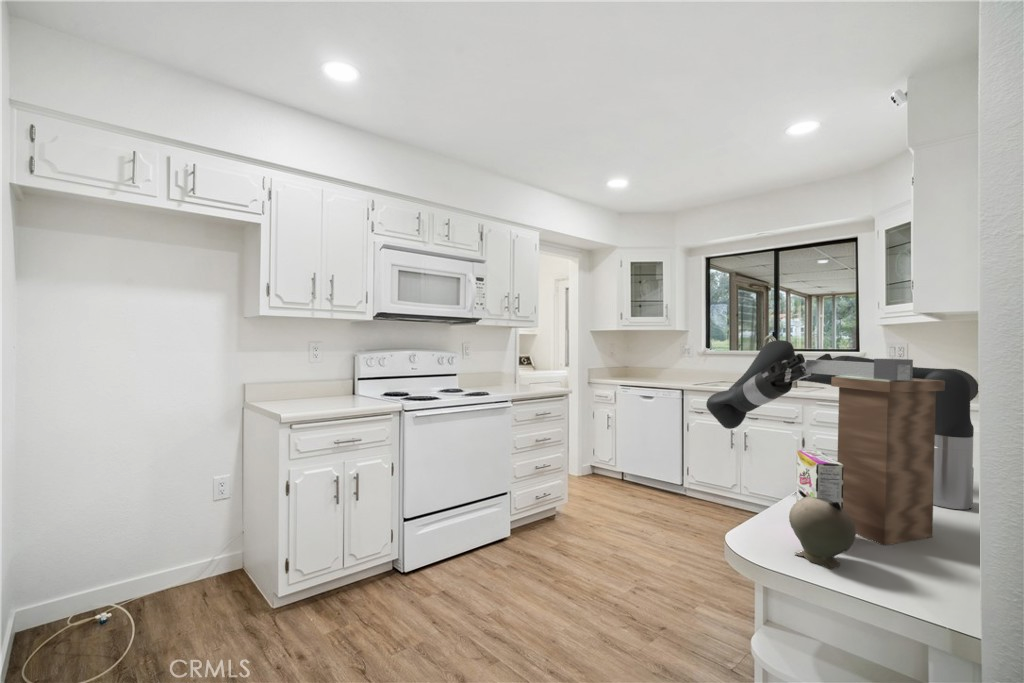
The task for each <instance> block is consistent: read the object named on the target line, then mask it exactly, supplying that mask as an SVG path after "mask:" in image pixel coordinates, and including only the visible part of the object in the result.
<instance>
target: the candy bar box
mask: <svg viewBox="0 0 1024 683" xmlns="http://www.w3.org/2000/svg"><path fill="white" fill-rule="evenodd" d="M843 467H844V465H843V464H841V463H839V462H837V460H836V459H834V458H832V457H830V456H828V455H827V454H825V453H824V452H822V451H818V450H817V451H816V450H802V449H801V450H800V449H799V450H796V502H798V501H799V500H801V499H802V498H804V497H803V496H801V494H800V493H799V490H800V491H802V492H803V493H804V494H805V495H806V496H810V497H815V498H825V499H829V500H831V501H833V502H835V503H836V502H838V503H839V505H840V506H841V508H842V509H843Z"/></svg>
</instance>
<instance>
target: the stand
mask: <svg viewBox="0 0 1024 683" xmlns="http://www.w3.org/2000/svg"><path fill="white" fill-rule="evenodd" d="M830 387H837V388H838V418H837V419H838V424H837V425H838V426H837V427H838V428H837V460H836V461H837V462H839V463H841V464H843V465H844V467H843V510H844V512H845V513H846V514H847V515H848V517H850V518H851V520H852V521H853V522H854V524H855V530H856V534H858V535H857V536H859V535H860V536H859V537H861V536H863V537H862V538H864V537H865V538H864V539H867V538H868V539H867V540H869V539H871V540H870V541H872V540H873V541H872V542H874V541H876V542H875V543H877V542H878V543H877V544H879V543H880V545H882V544H883V545H882V546H889V545H888V544H890V545H894V543H895V544H900V543H899V542H901V543H906V542H905V541H907V542H912V541H917V540H916V539H918V540H922V539H921V538H924V539H928V538H927V537H930V538H933V524H934V521H933V520H934V505H933V489H934V448H935V406H936V391H945V381H941V380H928V379H915V378H912V380H885V379H874V378H864V377H852V376H835V377H831V385H830ZM911 540H912V541H911Z"/></svg>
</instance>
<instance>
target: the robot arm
mask: <svg viewBox="0 0 1024 683" xmlns="http://www.w3.org/2000/svg"><path fill="white" fill-rule="evenodd" d="M874 359H875V358H867V357H862V356H853V355H838V356H835V357H832V356H831V354H830V353H825V354H822V355H821V356H819V357H818V358H816V359H815V360H832V361H851V362H869V363H874ZM835 376H840V375H828V374H816V373H806V359H805V357H804V355H803V354H802V353H797V354H796V351H795V348H794V346H793V344H792V343H791V342H789V341H788V340H783V339H781V340H780V339H779V340H772V341H770V342H767V343H766V344H764V345H763V347H761V349H760V351H759V352H758V354H757V355H756V357H755V358H754V359H753V361H752V363H751V364H750V365H749V367H748V368H747V370H746V371H745V372H744V374H743V375H742V376H741V377H740V378H738V380H737V381H735V382H734V384H732V385H731V386H730V387H729V389H727V390H722V391H719V392H716V393H714V394H711V395H710V396H709V397H708V398H707V399H706V406H705V407H706V408H707V410H708V412H710V414H711V415H712V416H713V417H714V418H715V419H716V420H717V422H718V423H719V424H720V425H721V426H722V427H723V428H725V429H727V430H728V429H729V430H731V429H735V428H737V427H740V425H741V424H742V423H743V421H744V420H745V418H746V417H747V413H748V412H751V411H753V410H756V409H757V408H760V407H761V406H764V405H766V404H769V403H771V402H772V401H775V400H776V399H778V398H780V397H781V396H784V395H785V394H787V393H789V392H790V391H791V390H792V386H793V383H797V382H799V381H800V382H809V383H815V384H816V383H817V384H821V385H822V384H823V385H829V386H831V377H835ZM912 378H915V379H928V380H941V381H945V391H936V406H935V448H934V489H933V506H937V507H942V508H946V509H952V510H953V509H955V510H970V509H969V508H971V507H972V506H973V505H974V475H975V474H974V473H975V472H974V471H975V470H974V469H975V468H974V466H973V464H974V430H975V429H974V425H973V423H972V420H971V401H973V400H974V399H975V398H976V396H978V393H979V391H978V386H979V384H978V381H977V380H976V379H975V377H974V376H972V375H971V374H970V373H969V372H966V371H964V370H962V369H959V368H958V369H957V368H935V367H934V368H931V367H917V366H913V376H912ZM972 504H973V505H972ZM971 509H972V508H971Z"/></svg>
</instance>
